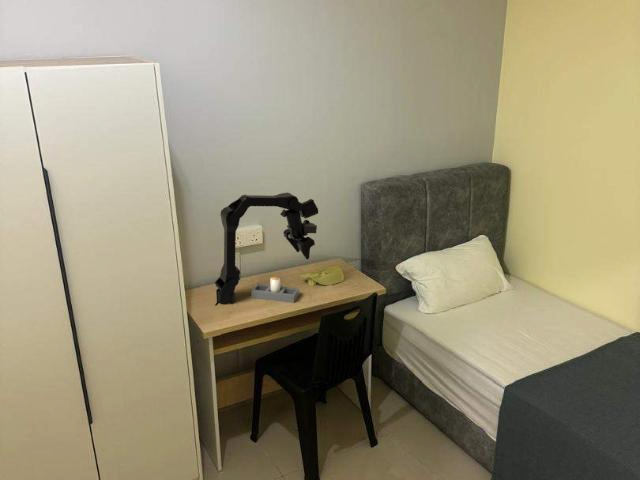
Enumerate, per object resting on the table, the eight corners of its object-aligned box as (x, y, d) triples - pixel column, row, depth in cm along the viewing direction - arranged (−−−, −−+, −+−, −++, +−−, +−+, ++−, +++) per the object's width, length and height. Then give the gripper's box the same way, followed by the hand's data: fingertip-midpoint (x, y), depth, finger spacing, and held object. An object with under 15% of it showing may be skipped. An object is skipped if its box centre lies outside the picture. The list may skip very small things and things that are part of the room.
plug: (269, 297, 241) (269, 279, 238) (272, 293, 245) (272, 275, 242) (278, 298, 240) (278, 280, 237) (281, 294, 244) (281, 276, 241)
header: (251, 300, 241) (251, 291, 240) (257, 292, 248) (257, 283, 247) (293, 305, 237) (293, 296, 236) (298, 297, 245) (298, 288, 243)
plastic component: (326, 268, 269) (341, 264, 262) (330, 283, 269) (345, 280, 262) (295, 276, 256) (310, 273, 248) (299, 293, 255) (314, 289, 248)
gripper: (322, 221, 235) (329, 255, 242) (302, 209, 251) (310, 241, 258) (297, 231, 232) (306, 265, 238) (279, 218, 247) (287, 251, 254)
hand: (303, 255), depth 247 cm, fingers open, 9 cm apart
